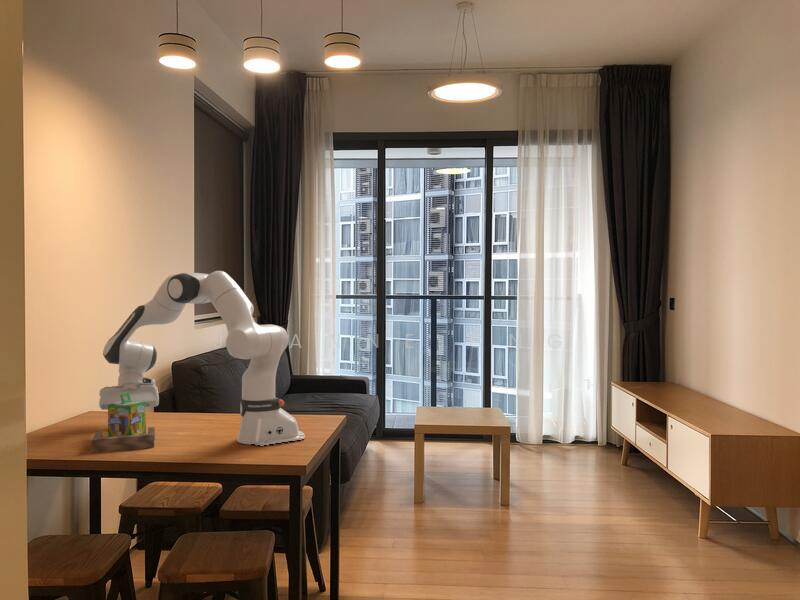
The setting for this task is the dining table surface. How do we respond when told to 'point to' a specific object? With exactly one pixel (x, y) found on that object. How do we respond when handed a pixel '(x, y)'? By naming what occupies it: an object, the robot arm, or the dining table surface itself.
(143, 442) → the grey-brown shallow rectangular tray
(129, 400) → the chalk box
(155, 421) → the dining table surface
